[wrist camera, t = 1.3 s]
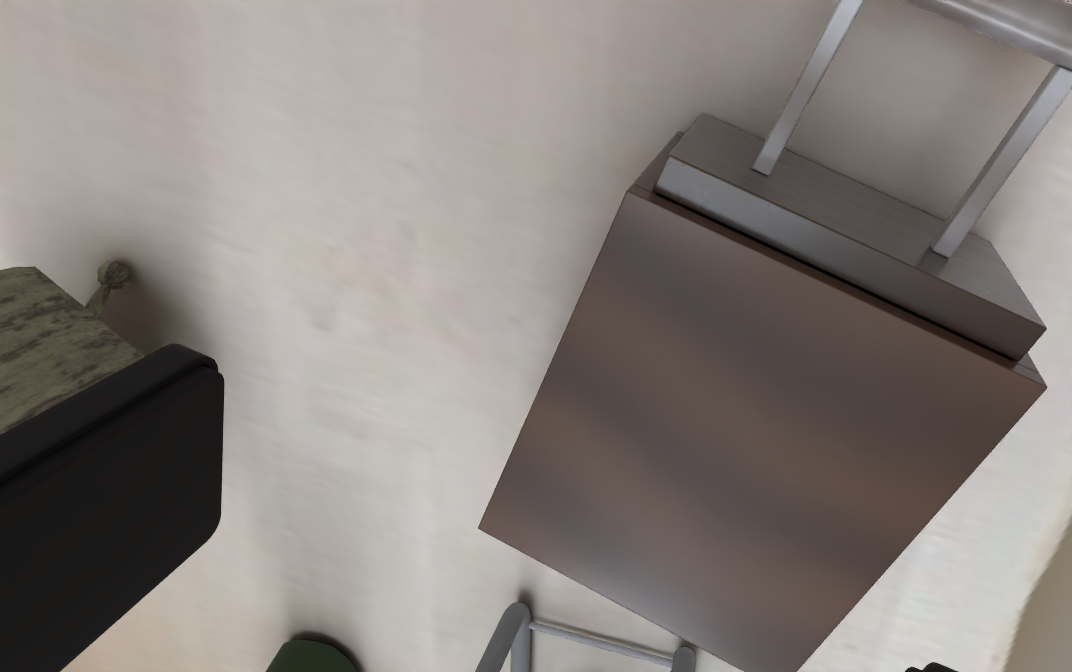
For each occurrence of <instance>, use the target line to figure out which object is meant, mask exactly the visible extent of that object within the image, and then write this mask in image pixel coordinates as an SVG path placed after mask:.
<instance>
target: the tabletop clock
mask: <svg viewBox="0 0 1072 672" xmlns="http://www.w3.org/2000/svg"><path fill="white" fill-rule="evenodd" d="M97 274H98V281H99V282H100V283H101V285H102V286H101V287H100V288H99V289H98V291H97V292H96V293H95V295H94V296H93V297H92V299H91V300H90V301H89V302H88V304H87V305H86V306H85V307H84V306H83V305H81V304H80V303H79V302H78V301H76V300H75V299H74V298H73V297H72V296H70V295H69V294H68V293H67V292H65V291H64V290H63V289H62V288H61V287H59V286H58V285H57V284H56V283H54V282H53V281H52V280H51V279H50V278H48V277H47V276H46V275H45V274H43V273H42V272H41V271H40V270H39V269H37V268H36V267H13V268H9V269H4V270H0V435H1V434H3V433H5V432H6V431H8V430H10V429H12V428H14V427H16V426H18V425H19V424H21V423H23V422H25V421H27V420H29V419H31V418H32V417H34V416H36V415H38V414H40V413H42V412H44V411H45V410H47V409H49V408H51V407H53V406H55V405H57V404H58V403H60V402H62V401H64V400H66V399H68V398H70V397H72V396H73V395H75V394H77V393H79V392H81V391H83V390H85V389H86V388H88V387H90V386H92V385H94V384H96V383H98V382H99V381H101V380H103V379H105V378H107V377H109V376H111V375H112V374H114V373H116V372H118V371H120V370H122V369H124V368H125V367H127V366H129V365H131V364H133V363H135V362H137V361H138V360H140V359H142V358H144V357H145V356H144V355H142V354H141V353H140V352H139V351H137V350H136V349H135V348H134V347H133V346H131V345H130V344H129V343H128V342H126V341H125V340H124V339H123V338H122V337H120V336H119V335H118V334H117V333H115V332H114V331H113V330H112V329H111V328H109V327H108V326H107V325H106V324H104V323H103V322H102V321H101V320H100V319H99V317H100V315H101V312H102V310H103V308H104V306H105V303H106V301H107V299H108V297H109V295H110V292H111V290H119V289H122V288H123V287H124V286H125V285H126V284H127V283H129V281H130V271H129V269H128V268H127V267H126V266H125V264H123V263H120V262H118V261H108V262H105V263H104V264H103V265H102V266H101V267H100V268H99V269H98V271H97Z"/></svg>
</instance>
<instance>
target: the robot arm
mask: <svg viewBox="0 0 1072 672" xmlns="http://www.w3.org/2000/svg"><path fill="white" fill-rule="evenodd" d="M223 415H224V378H223V376H222V374H221V373H219V372H218V366H217V363H216V362H215V360H214V359H212V358H211V357H208V356H206V355H204V354H201V353H199V352H196V351H194V350H192V349H189V348H187V347H185V346H182V345H180V344H170V345H167V346H165V347H163V348H161V349H159V350H157V351H155V352H153V353H151V354H150V355H148V356H146V357H144V358H142V359H140V360H138V361H137V362H135V363H133V364H131V365H129V366H127V367H125V368H124V369H122V370H120V371H118V372H116V373H114V374H112V375H111V376H109V377H107V378H105V379H103V380H101V381H99V382H98V383H96V384H94V385H92V386H90V387H88V388H86V389H85V390H83V391H81V392H79V393H77V394H75V395H73V396H72V397H70V398H68V399H66V400H64V401H62V402H60V403H58V404H57V405H55V406H53V407H51V408H49V409H47V410H45V411H44V412H42V413H40V414H38V415H36V416H34V417H32V418H31V419H29V420H27V421H25V422H23V423H21V424H19V425H18V426H16V427H14V428H12V429H10V430H8V431H6V432H5V433H3V434H1V435H0V672H60V671H61V670H62V669H63V668H65V667H66V666H67V665H68V664H69V663H70V662H71V661H72V660H74V659H75V658H76V657H77V656H78V655H79V654H80V653H81V652H83V651H84V650H85V649H86V648H87V647H88V646H89V645H90V644H92V643H93V642H94V641H95V640H96V639H97V638H98V637H100V636H101V635H102V634H103V633H104V632H105V631H106V630H107V629H109V628H110V627H111V626H112V625H113V624H114V623H115V622H116V621H118V620H119V619H120V618H121V617H122V616H123V615H124V614H125V613H127V612H128V611H129V610H130V609H131V608H132V607H133V606H135V605H136V604H137V603H138V602H139V601H140V600H141V599H142V598H144V597H145V596H146V595H147V594H148V593H149V592H150V591H151V590H153V589H154V588H155V587H156V586H157V585H158V584H159V583H160V582H162V581H163V580H164V579H165V578H166V577H167V576H168V575H170V574H171V573H172V572H173V571H174V570H175V569H176V568H177V567H179V566H180V565H181V564H182V563H183V562H184V561H185V560H186V559H188V558H189V557H190V556H191V555H192V554H193V553H194V552H195V551H197V550H198V549H199V548H200V547H201V546H202V545H203V544H205V543H206V542H207V541H208V540H209V539H210V538H211V536H212V535H213V533H214V532H215V530H216V528H217V527H218V524H219V521H220V517H221V493H222V454H223ZM905 672H957V671H955V670H953V669H950V668H948V667H946V666H943V665H941V664H938V663H934V662H932V663H930V664H928V665H927V666H926V667H925V668H924V669H923V670H919V669H917V668H915V667H910V668H908V669H907V670H906V671H905Z"/></svg>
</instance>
